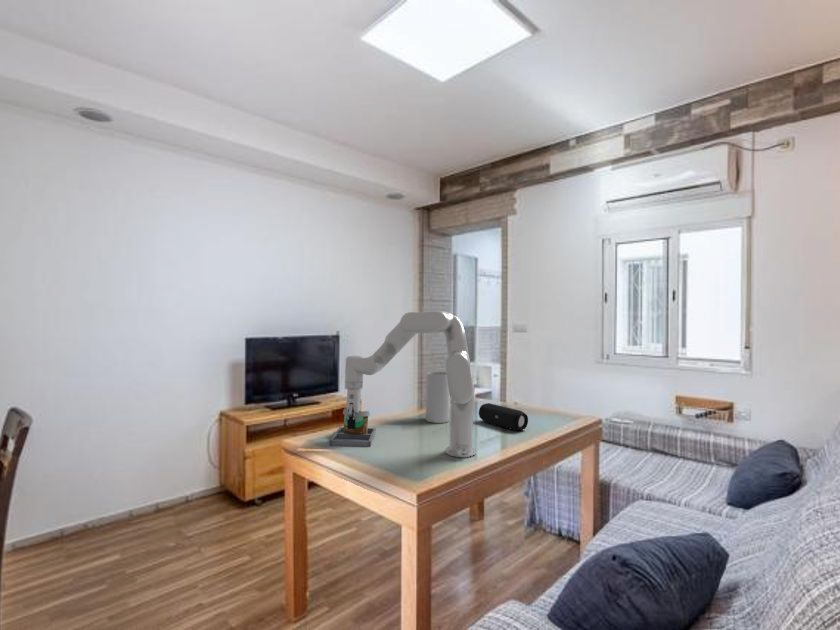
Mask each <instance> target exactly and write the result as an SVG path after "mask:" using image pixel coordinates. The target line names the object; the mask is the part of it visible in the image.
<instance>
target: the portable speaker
mask: <svg viewBox="0 0 840 630" xmlns="http://www.w3.org/2000/svg"><path fill="white" fill-rule="evenodd" d="M478 416H479V418H480V419H481V420H482V421H483V422H484V423H487V422H488V423H487V424H490V423H491V425H494V424H495V426H498V425H499V426H498V427H501V426H503V427H502V428H505V427H507V428H506V429H508V428H511V429H510V430H512V429H515V430H514V431H516V430H520V431H523V429H524V430H525V429H526V428H527V426H528V424H529V417H528V414H527V413H526V412H524V411H523V410H520V409H515V408H511V407H507V406H503V405H499V404H496V403H495V404H494V403H491V402H490V403H489V402H487V403H483V404H481V405H480V407H479V409H478Z"/></svg>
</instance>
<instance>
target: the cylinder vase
mask: <svg viewBox="0 0 840 630" xmlns="http://www.w3.org/2000/svg"><path fill="white" fill-rule="evenodd" d="M425 392H426V394H425V397H426V398H425V399H426V400H425V402H426V403H425V420H426V421H427V422H428V423H431V424H446V423H448V422H450V409H451V397H450V395H449V389H448V381H447V374H446V371H429V372H426V391H425Z"/></svg>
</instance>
